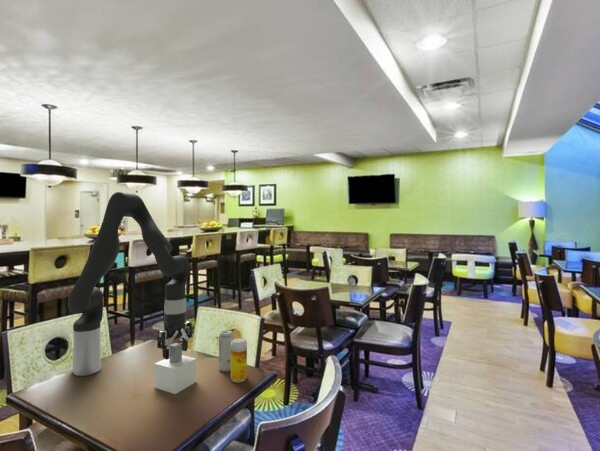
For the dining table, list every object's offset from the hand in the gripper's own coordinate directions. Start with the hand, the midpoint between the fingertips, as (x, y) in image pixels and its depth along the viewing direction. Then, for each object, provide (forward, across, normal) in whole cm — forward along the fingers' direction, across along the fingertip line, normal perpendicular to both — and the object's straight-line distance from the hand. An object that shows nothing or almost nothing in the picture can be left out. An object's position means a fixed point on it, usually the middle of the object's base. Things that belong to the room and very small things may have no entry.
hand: (175, 354), depth 126 cm
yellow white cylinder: (+11, -14, +18) cm, 25 cm away
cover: (+11, 0, 0) cm, 11 cm away
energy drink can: (+11, -19, +8) cm, 24 cm away
